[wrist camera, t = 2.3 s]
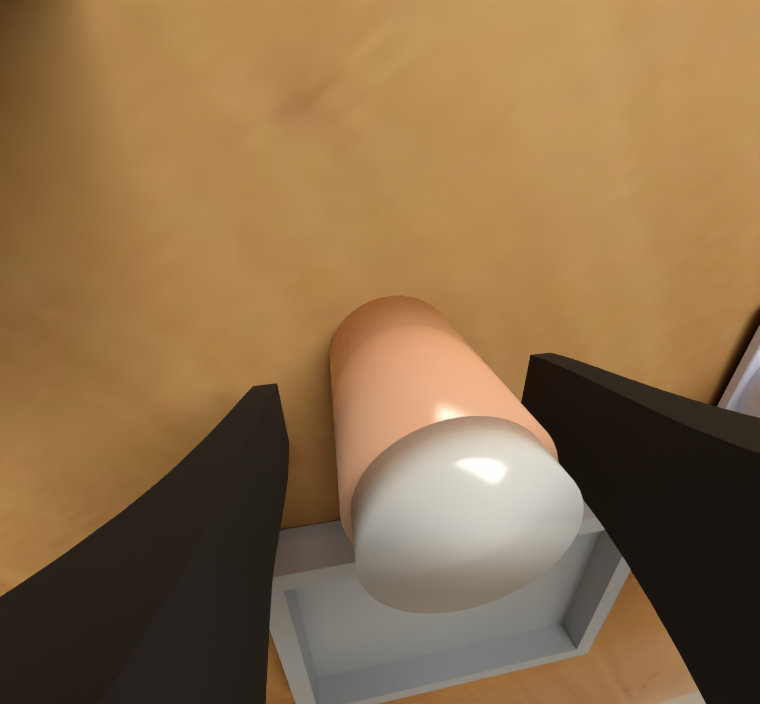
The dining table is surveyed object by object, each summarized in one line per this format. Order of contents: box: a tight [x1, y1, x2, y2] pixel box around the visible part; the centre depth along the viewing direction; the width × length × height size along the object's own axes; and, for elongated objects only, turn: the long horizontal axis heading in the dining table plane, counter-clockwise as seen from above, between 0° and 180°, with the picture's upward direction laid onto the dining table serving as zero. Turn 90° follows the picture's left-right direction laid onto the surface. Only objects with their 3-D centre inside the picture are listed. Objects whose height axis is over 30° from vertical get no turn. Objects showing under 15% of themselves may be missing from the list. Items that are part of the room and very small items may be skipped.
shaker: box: [330, 296, 584, 614], centre depth 9 cm, size 4×4×7 cm
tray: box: [269, 500, 631, 704], centre depth 18 cm, size 18×14×2 cm
